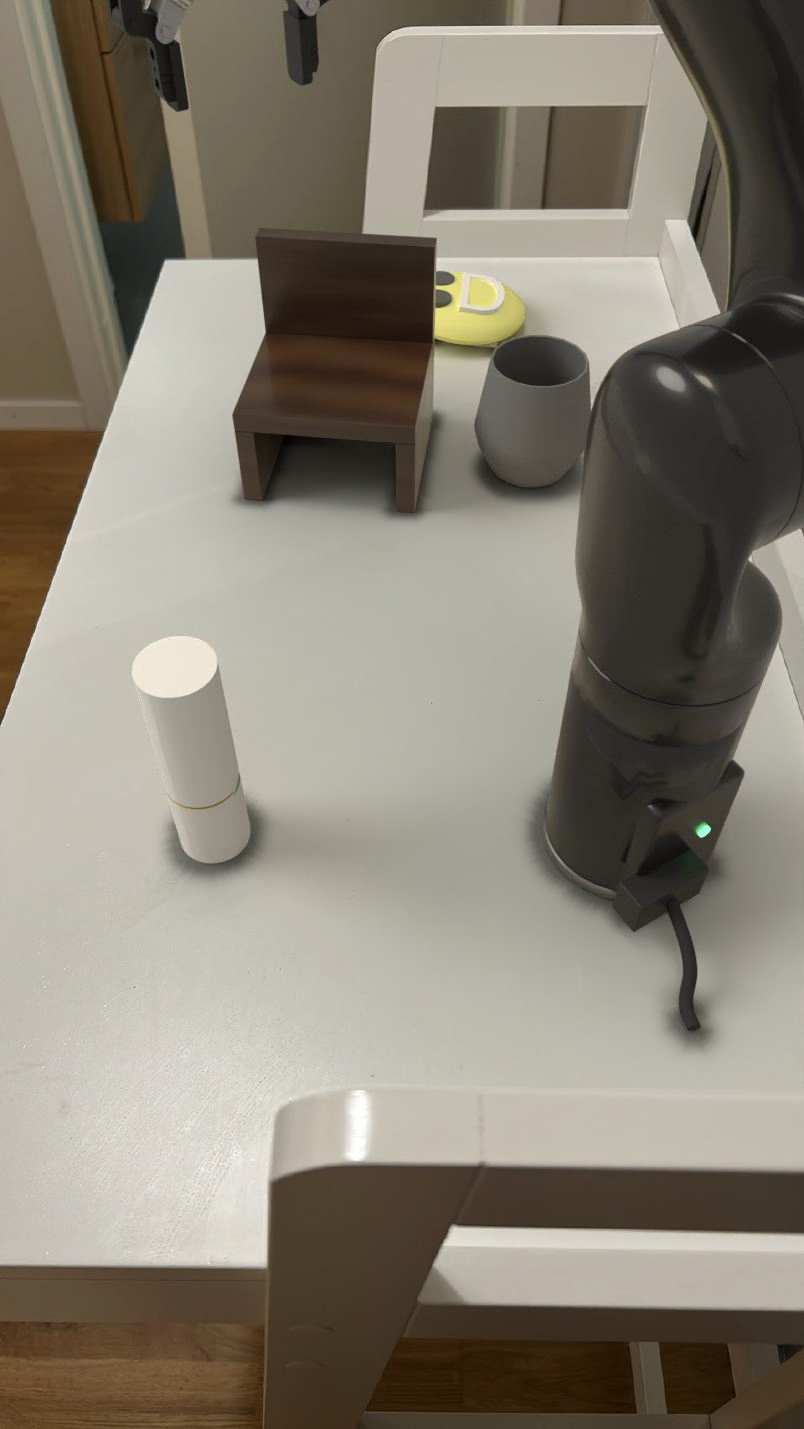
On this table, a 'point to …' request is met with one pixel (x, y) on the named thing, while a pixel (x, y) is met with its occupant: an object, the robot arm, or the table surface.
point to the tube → (193, 745)
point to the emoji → (475, 309)
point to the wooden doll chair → (341, 350)
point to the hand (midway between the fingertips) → (240, 94)
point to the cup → (534, 409)
